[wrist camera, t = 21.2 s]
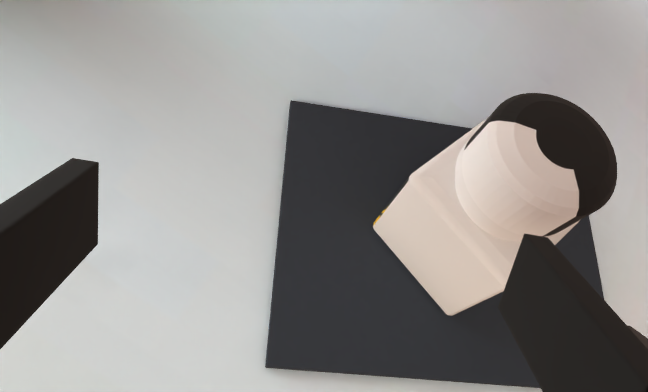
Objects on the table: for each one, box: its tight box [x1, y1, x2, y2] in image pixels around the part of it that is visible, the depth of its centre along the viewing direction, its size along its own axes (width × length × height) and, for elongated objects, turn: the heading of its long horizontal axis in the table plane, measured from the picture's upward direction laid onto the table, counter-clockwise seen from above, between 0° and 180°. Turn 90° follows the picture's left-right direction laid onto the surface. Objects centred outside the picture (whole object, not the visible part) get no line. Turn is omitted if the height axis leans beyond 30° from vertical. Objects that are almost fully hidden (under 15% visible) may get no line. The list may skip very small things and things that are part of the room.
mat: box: [265, 101, 604, 388], centre depth 32 cm, size 17×21×1 cm
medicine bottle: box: [373, 93, 617, 316], centre depth 27 cm, size 7×7×12 cm
